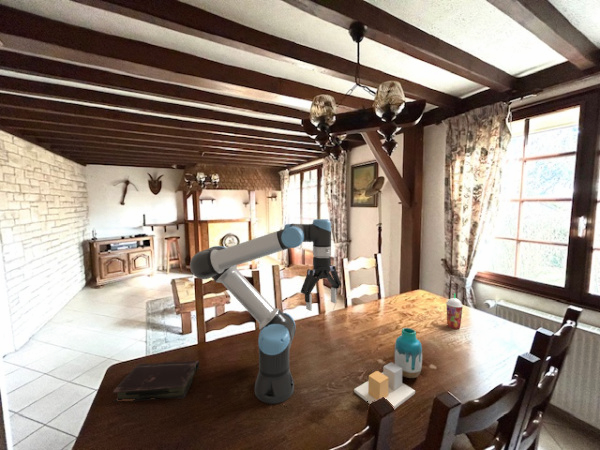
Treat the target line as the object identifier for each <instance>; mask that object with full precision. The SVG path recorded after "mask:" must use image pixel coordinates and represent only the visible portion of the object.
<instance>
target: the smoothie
mask: <svg viewBox="0 0 600 450" xmlns="http://www.w3.org/2000/svg"><path fill="white" fill-rule="evenodd" d="M463 307H464V305H463V303H462V301H461V300H460V299H458V298H457V297H456V293H453V297H451V298H449V299H448V300H447V301H446V324H447V326H448V327H449V328H450V327H451V328H450V329H453V328H454V329H453V330H457V329H460V327H461V324H462V315H463V309H464V308H463Z"/></svg>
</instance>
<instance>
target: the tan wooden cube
mask: <svg viewBox="0 0 600 450" xmlns="http://www.w3.org/2000/svg"><path fill="white" fill-rule="evenodd" d="M388 380H389V378H388V377H387V376H385V375H384V374H382V372H380V371H379V370H375V371H374V372H372V373H371V374H369V375H368V381H369V383H368V394H369V395H371V396H372V397H374V398H375V399H376V400H377V399H379V398H382V397H384V398H386V397H387V396H388Z"/></svg>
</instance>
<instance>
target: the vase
mask: <svg viewBox="0 0 600 450" xmlns="http://www.w3.org/2000/svg"><path fill="white" fill-rule="evenodd" d="M394 343H395V344H394V364H396V365H398V366H399V367H401V368H402V377H404V378H408V379H415V378H417V377H419V375H420V374H421V371H422V368H423V367H422V366H423V346H422V343H421V341H420V340H419V339H418V338H417V332H416V330H415V329H414V328H410V327H403V328H402V329H401V335H399V336H398V337H397V338H396V340H395V342H394Z"/></svg>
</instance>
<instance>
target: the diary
mask: <svg viewBox="0 0 600 450" xmlns="http://www.w3.org/2000/svg"><path fill="white" fill-rule="evenodd" d="M196 370H200V361H199V360H189V361H165V362H154V363H152V362H151V363H150V362H149V363H145V362H144V363H138V364H137V365H136V366H135V367H134V368H133V369H132V370H131V371H129V373H128V374H127V375H126V376H125V377H124V378H123V379H122V381H120V383H119V384H118V385H117V386H116V387H115V388H114V390H113V391H112V393H116V394H117V397H118V400H122V399H135V400H133V401H132V402H140V401H141V402H143V401H159V399H157V398H161V399H172V398H178V399H185V398H186V396H187V394H188V392H189V390H190V388H191V386H192V383H193V381H194V380H195V379H193V377H194V376H195V373H196ZM117 397H116V398H115V399H114V400H113V402H114V403H119V402H118V401H117V400H116V399H117ZM151 398H155V399H151Z"/></svg>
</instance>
